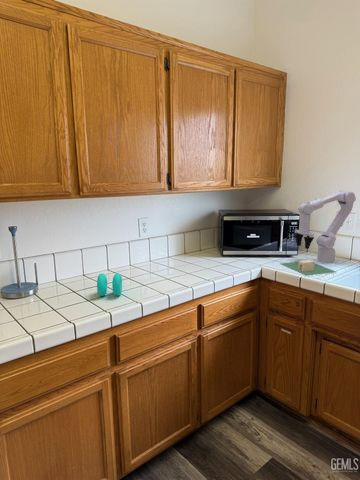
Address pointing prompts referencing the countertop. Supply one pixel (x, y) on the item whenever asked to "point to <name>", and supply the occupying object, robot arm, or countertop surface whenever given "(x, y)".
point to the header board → (317, 270)
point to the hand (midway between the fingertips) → (302, 247)
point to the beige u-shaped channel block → (306, 265)
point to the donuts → (115, 284)
